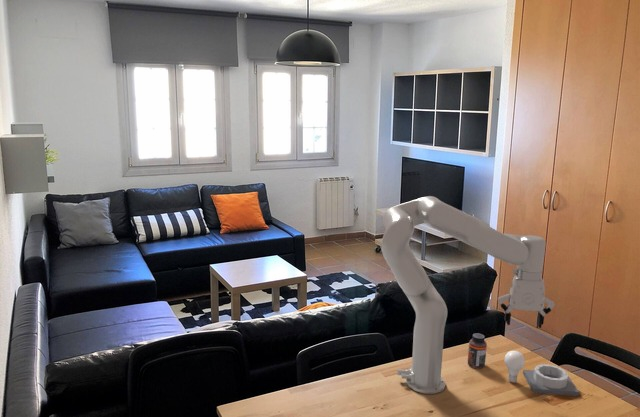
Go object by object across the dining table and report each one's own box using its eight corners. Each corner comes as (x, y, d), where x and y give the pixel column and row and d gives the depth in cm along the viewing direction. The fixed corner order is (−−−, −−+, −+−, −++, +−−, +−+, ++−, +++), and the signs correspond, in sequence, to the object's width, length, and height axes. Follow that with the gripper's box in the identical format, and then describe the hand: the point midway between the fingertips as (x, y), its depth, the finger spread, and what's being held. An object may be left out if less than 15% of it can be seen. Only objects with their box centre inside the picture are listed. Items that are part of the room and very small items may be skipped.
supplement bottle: (464, 362, 187) (466, 332, 185) (478, 359, 189) (480, 330, 186) (473, 370, 182) (476, 340, 179) (488, 368, 183) (491, 338, 181)
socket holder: (533, 392, 168) (534, 380, 167) (522, 373, 180) (524, 361, 179) (578, 395, 167) (580, 383, 166) (565, 376, 178) (566, 364, 177)
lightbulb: (524, 388, 171) (527, 357, 168) (503, 385, 172) (506, 355, 170) (520, 378, 177) (523, 348, 175) (501, 375, 178) (503, 346, 176)
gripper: (502, 276, 164) (497, 327, 167) (561, 280, 161) (554, 332, 164) (498, 268, 171) (493, 317, 174) (554, 272, 168) (548, 322, 172)
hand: (523, 324), depth 169 cm, fingers open, 9 cm apart
